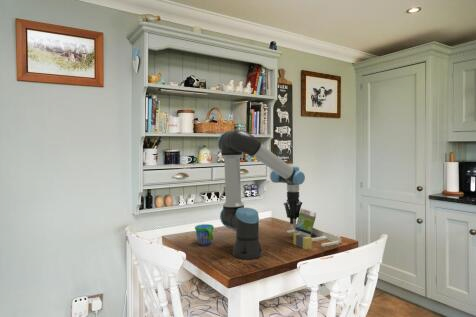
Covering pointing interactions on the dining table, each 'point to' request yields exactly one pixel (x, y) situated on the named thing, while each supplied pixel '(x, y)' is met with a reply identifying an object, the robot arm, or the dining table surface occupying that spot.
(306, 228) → the tea box
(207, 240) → the snack cup
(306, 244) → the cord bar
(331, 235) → the rack
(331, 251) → the dining table surface
